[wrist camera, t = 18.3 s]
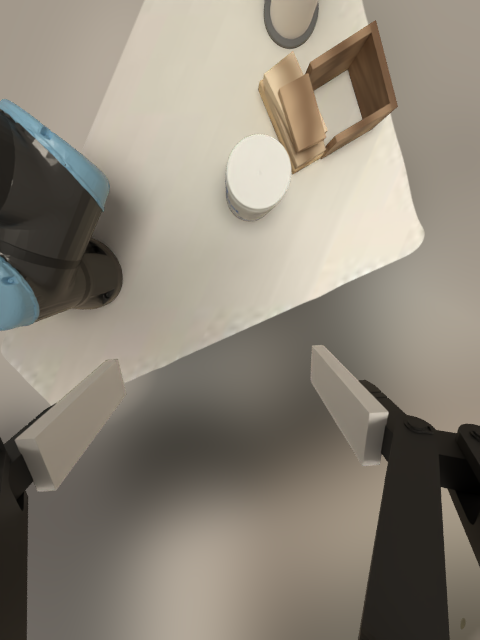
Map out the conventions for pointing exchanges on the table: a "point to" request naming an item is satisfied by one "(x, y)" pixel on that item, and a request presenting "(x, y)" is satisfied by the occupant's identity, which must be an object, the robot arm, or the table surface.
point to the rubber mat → (281, 40)
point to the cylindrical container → (292, 16)
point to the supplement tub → (256, 176)
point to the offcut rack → (297, 89)
